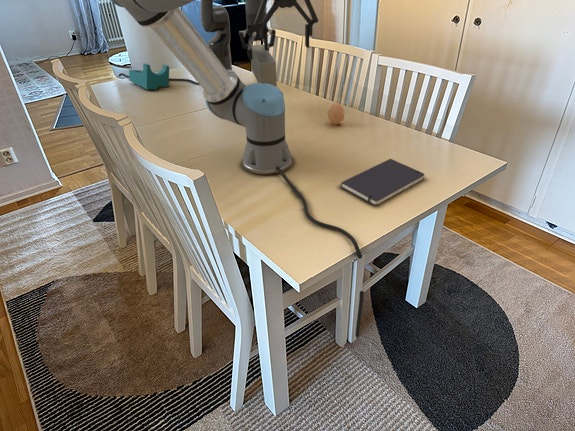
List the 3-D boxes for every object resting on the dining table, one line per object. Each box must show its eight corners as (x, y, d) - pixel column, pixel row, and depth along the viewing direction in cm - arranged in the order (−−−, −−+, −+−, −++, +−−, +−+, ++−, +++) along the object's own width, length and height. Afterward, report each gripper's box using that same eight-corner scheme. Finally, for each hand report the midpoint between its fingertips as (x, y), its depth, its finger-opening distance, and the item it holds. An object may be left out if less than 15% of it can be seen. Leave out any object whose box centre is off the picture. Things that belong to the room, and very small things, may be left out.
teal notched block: (168, 89, 190) (169, 66, 185) (146, 89, 182) (147, 65, 178) (150, 81, 201) (150, 59, 196) (129, 80, 193) (129, 57, 189)
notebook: (389, 163, 124) (340, 187, 113) (390, 158, 123) (341, 182, 112) (424, 178, 116) (375, 206, 105) (425, 174, 115) (376, 201, 104)
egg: (332, 128, 146) (333, 107, 141) (324, 122, 150) (325, 101, 146) (346, 125, 148) (348, 104, 143) (338, 119, 152) (339, 99, 148)
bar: (276, 88, 142) (275, 62, 137) (261, 90, 141) (260, 63, 136) (265, 68, 162) (264, 44, 156) (251, 69, 161) (250, 45, 156)
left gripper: (273, 7, 150) (275, 55, 160) (235, 10, 148) (239, 57, 158) (277, 11, 144) (278, 60, 154) (237, 13, 142) (241, 63, 152)
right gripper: (322, -31, 124) (321, 42, 136) (241, -27, 120) (247, 48, 133) (329, -29, 118) (326, 48, 130) (244, -25, 114) (250, 53, 127)
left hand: (258, 58), depth 156 cm, fingers closed on bar, 5 cm apart
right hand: (286, 48), depth 132 cm, fingers open, 13 cm apart
